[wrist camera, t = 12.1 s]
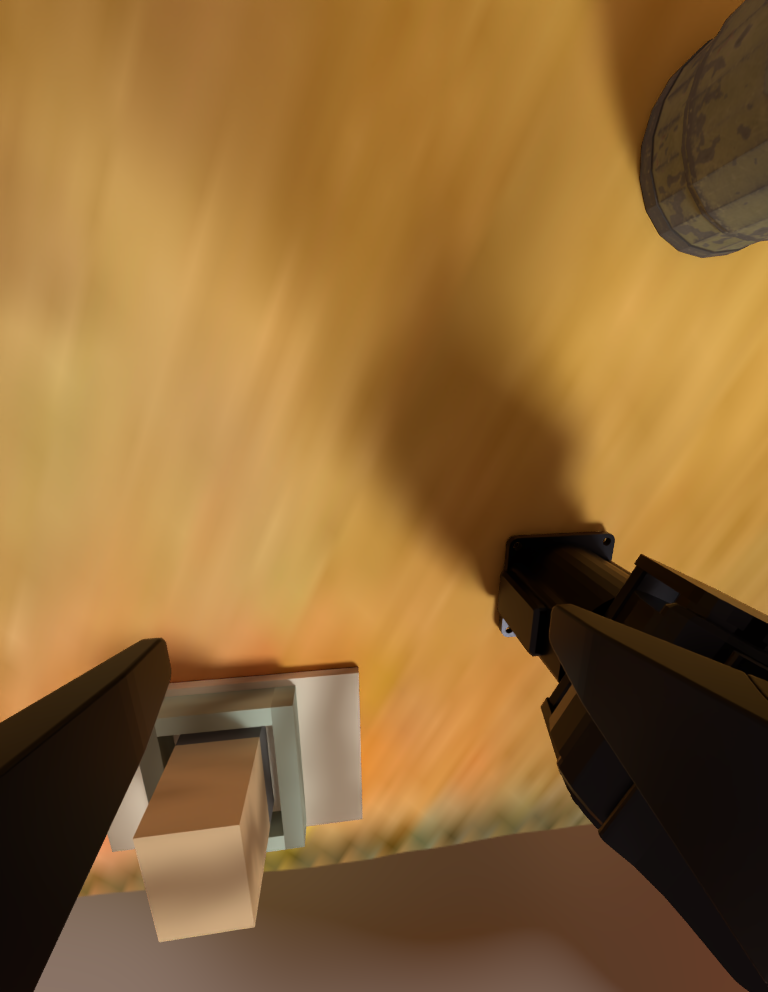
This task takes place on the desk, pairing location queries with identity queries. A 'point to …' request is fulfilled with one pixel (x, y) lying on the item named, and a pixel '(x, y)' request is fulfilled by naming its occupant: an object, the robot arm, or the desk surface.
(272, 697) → the socket plate
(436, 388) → the desk surface
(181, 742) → the plug block
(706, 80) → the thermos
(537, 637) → the robot arm
